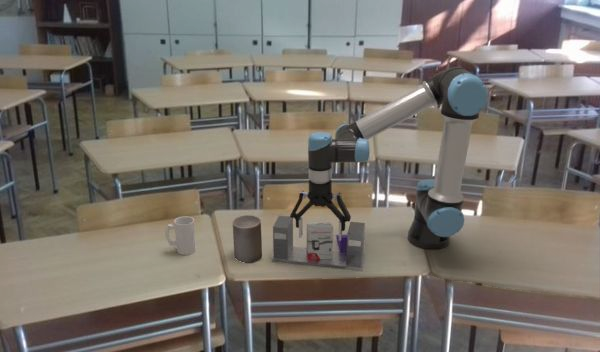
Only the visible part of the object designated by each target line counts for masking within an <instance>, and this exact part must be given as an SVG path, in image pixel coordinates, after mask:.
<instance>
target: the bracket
mask: <svg viewBox="0 0 600 352" xmlns="http://www.w3.org/2000/svg"><path fill="white" fill-rule="evenodd" d="M336 242H337V247H338V251H345V252H347V234H342V239H341V241H339V234H337V235H336Z"/></svg>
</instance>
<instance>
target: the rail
mask: <svg viewBox="0 0 600 352" xmlns="http://www.w3.org/2000/svg"><path fill="white" fill-rule="evenodd" d="M365 228H366V223H365V222H359V221H349V226H348V231H347V234H346V235H347V252H345V251H339V250H333V251H332V259H319V260H308V257H307V247H304V246H303V247H302V246H301V247H300V246H294V218H291V217H290V215H289V216H288V215H278V216H277V218H276V220H275V222H274V224H273V227H272V238H273V239H272V240H273V241H272V245H273V246H272V247H273V249H272V251H273V252H272V253H273V255H272V258H271V263H276V264H277V263H279V264H280V263H281V264H287V265H289V264H290V265H298V266H299V265H300V266H308V267H318V268H327V269H328V268H329V269H338V270H349V271H357V272H359V271H360V272H363V270H364V263H365V258H366V253H364V250H365V234H366V233H365V230H366V229H365Z"/></svg>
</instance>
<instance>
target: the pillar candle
mask: <svg viewBox="0 0 600 352" xmlns="http://www.w3.org/2000/svg"><path fill="white" fill-rule="evenodd" d="M231 222H232V223H231V224H232V234H233V235H232V237H233V252H234V259H235V258H236V259H237V260H238V261H237V260H236V259H235V260H236V261H237V262H239V261H241V262H240V263H242V262H245V263H244V264H253V263H256V262H258V261H260V260H261V259H262V257H263V249H262V248H263V247H262V246H263V243H262V242H263V241H262V240H263V239H262V222H261V219H260V218H259V217H258V216H255V215H241V216H237V217H236V218H234V219H233V220H232V221H231Z"/></svg>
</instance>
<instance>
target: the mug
mask: <svg viewBox="0 0 600 352" xmlns="http://www.w3.org/2000/svg"><path fill="white" fill-rule="evenodd" d="M173 223H174V224H171V223H170V224H167V227H166V230H165V238H166V241H167V242H168V243H169V245H170V246H172V247H173V246H175V247H176V250H177V254H179V255H181V256H188V255H189V256H190V255H192V254H194V253H196V241H195V239H196V238H195V237H196V235H195V219H194V218H193V217H192V216H184V215H183V216H178V217H176V218H175V219H174V221H173ZM173 229H174V232H175V233H174V235H175V240H172V239H171V238H170V236H169V233H170V231H171V230H173Z"/></svg>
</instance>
